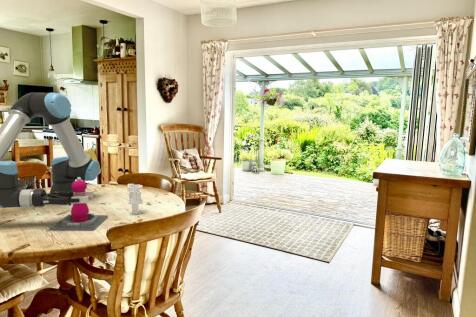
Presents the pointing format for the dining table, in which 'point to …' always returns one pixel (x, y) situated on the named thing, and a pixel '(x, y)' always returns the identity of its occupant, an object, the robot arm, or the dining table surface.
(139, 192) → the white blocky figurine
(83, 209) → the pepper mill
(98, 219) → the collar plate
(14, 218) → the dining table surface
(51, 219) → the dining table surface
